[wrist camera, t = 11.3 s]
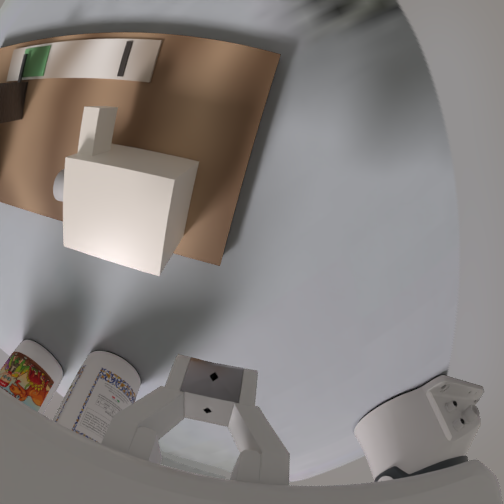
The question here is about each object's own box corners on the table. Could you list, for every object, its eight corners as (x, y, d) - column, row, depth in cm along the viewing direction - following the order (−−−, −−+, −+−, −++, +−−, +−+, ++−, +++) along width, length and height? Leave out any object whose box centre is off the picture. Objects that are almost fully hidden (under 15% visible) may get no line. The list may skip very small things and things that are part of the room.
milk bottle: (73, 381, 30) (21, 498, 13) (39, 373, 31) (-13, 472, 13) (46, 340, 27) (-27, 465, 9) (13, 335, 28) (-54, 437, 10)
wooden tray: (279, 59, 15) (280, 53, 13) (222, 255, 21) (219, 268, 19) (-2, 52, 12) (-15, 51, 11) (-16, 188, 18) (-28, 194, 17)
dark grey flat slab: (34, 53, 12) (-2, 51, 9) (22, 119, 14) (-15, 126, 11) (25, 55, 12) (-10, 53, 8) (13, 119, 14) (-22, 126, 11)
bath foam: (101, 384, 30) (49, 515, 12) (79, 345, 27) (4, 491, 9) (149, 391, 29) (105, 542, 11) (130, 351, 26) (62, 527, 8)
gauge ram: (209, 120, 15) (187, 123, 11) (183, 236, 18) (159, 276, 14) (93, 103, 14) (44, 105, 10) (81, 208, 18) (39, 237, 13)
